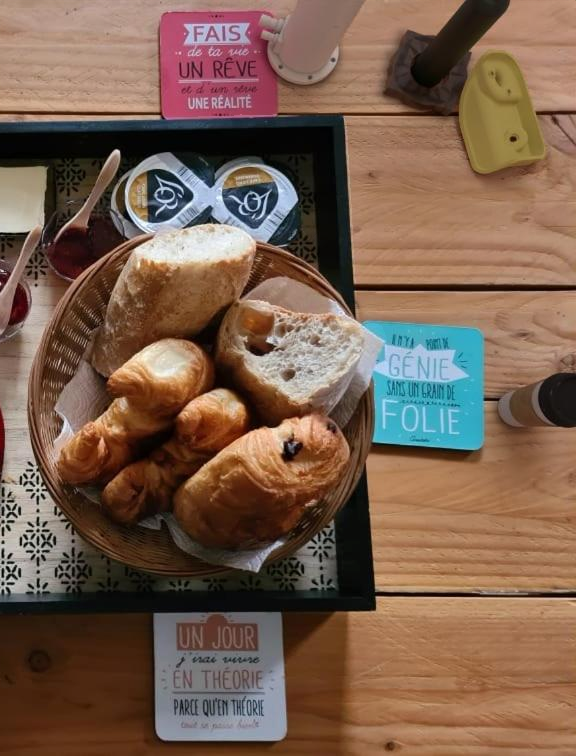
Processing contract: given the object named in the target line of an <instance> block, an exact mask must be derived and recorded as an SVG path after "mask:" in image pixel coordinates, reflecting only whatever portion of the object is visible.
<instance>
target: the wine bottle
mask: <svg viewBox="0 0 576 756" xmlns="http://www.w3.org/2000/svg"><path fill="white" fill-rule="evenodd" d="M510 4H511V0H464V2H462V4H461V5H460V6H459V7H458V8H457V10H455V12H454V13H453V14H452V16H451V17H450V18H449V19H448V21H447V22H446V23H445V24H444V25H443V27H442V28H441V29H440V30H439V32H438V33H437V34H436V35H435V38H434V39H433V40H432V41H431V42H430V44H429V45H428V46H427V47H426V49H425V50H424V51H423V52H422V53H421V55H420V56H419V57H418V58H417V59H415V60H414V62H413V63H411V65H410V73H411V75H412V77H413V79H414V81H416V82H417V83H418V84H419V85H420V86H423V87H426V88H437V87H438V85H439V84H440V83H441V82H442V81H443V80H444V77H445V76H446V75H447V74H448V73H449V72H450V71H451V70H452V69H453V68H454V66H455V65H456V64H457V63H458V62H459V61H460V60H461V59H462V58H463V57H464V56H465V55H466V54H467V53H468V51H471V50H472V49H473V47H474V46H475V45H477V43H478V42H480V40H481V39H482V38H483V37H484V36H485V34H486V33H487V32H489V30H490V29H491V28H492V27H493V26H494V25H495V24H496V23H497V22H498V20H499V19H500V18H501V17H502V16H503V15H504V14H505V13H506V12H507V11H508V9H509V7H510Z"/></svg>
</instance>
